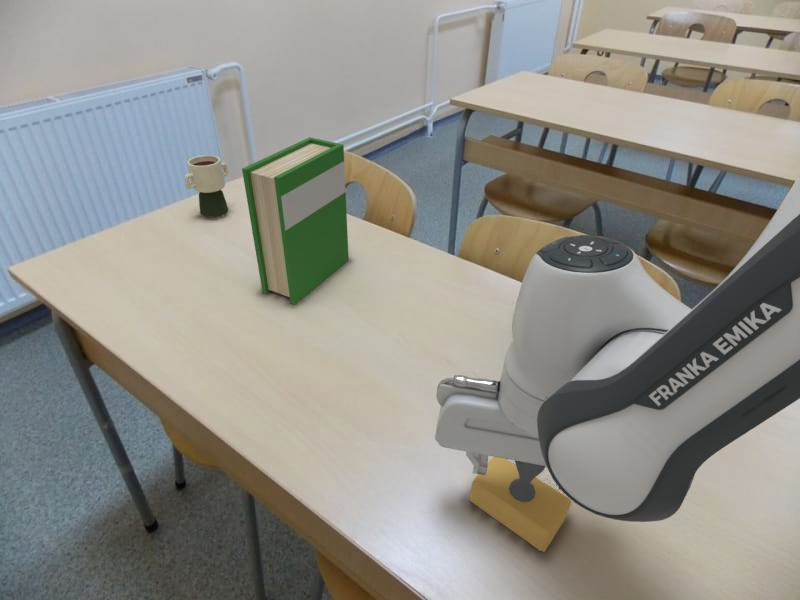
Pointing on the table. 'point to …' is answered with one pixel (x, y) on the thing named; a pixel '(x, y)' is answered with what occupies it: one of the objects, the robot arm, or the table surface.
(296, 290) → the hardback book
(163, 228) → the table surface
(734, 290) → the robot arm
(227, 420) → the table surface
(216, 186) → the character mug
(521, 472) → the rubber stamp
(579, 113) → the table surface
